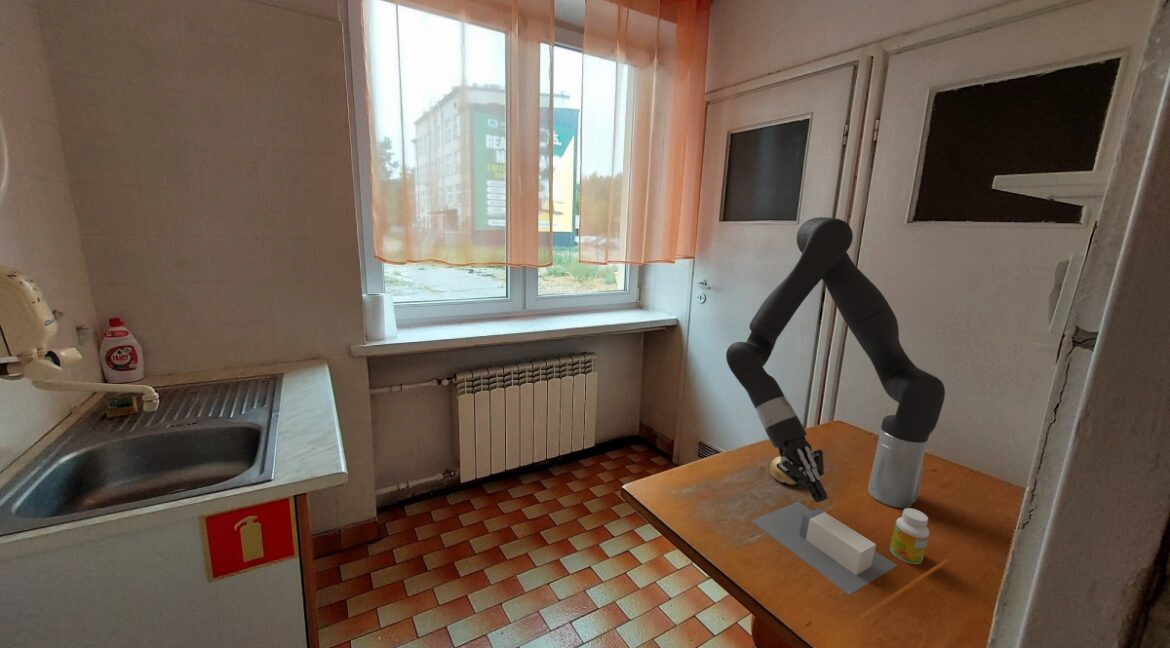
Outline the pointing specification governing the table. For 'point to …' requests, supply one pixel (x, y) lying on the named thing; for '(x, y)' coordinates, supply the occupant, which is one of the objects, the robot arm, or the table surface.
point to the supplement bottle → (910, 536)
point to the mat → (787, 532)
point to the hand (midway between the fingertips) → (822, 500)
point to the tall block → (837, 541)
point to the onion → (780, 472)
